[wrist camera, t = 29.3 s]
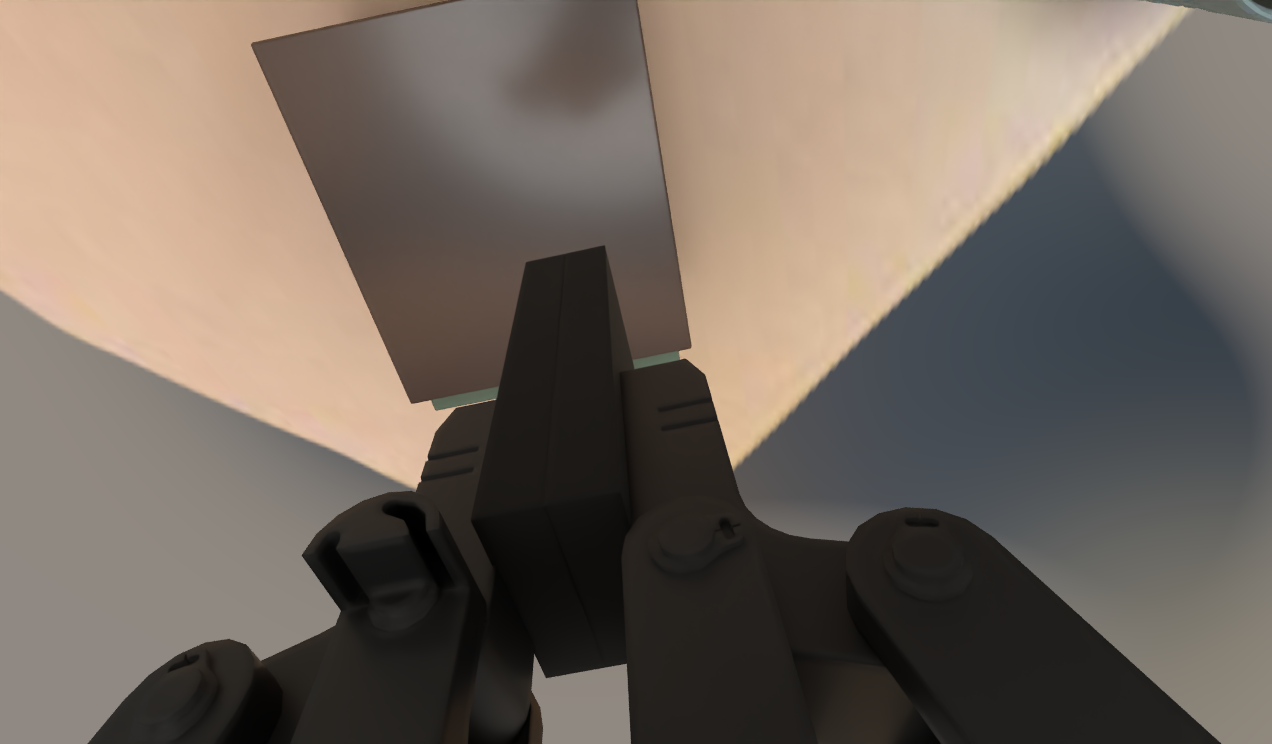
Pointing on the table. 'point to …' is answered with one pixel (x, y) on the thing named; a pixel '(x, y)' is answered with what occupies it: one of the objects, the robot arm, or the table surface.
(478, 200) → the cabinet
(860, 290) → the table surface
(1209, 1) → the grey green cup
